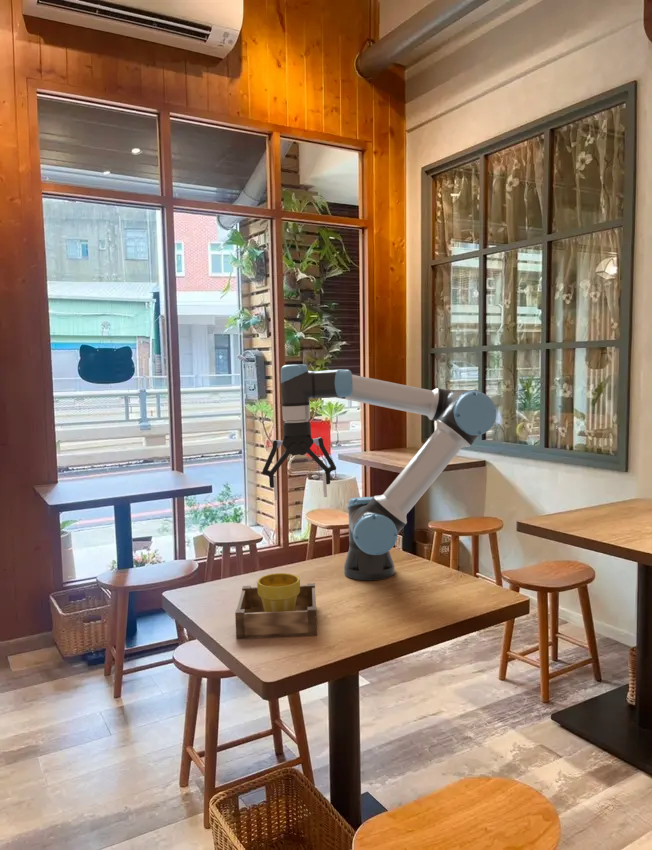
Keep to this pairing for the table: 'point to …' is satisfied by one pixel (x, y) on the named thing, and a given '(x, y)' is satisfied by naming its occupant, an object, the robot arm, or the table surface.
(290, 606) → the plant pot
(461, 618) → the table surface
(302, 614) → the walnut crate
